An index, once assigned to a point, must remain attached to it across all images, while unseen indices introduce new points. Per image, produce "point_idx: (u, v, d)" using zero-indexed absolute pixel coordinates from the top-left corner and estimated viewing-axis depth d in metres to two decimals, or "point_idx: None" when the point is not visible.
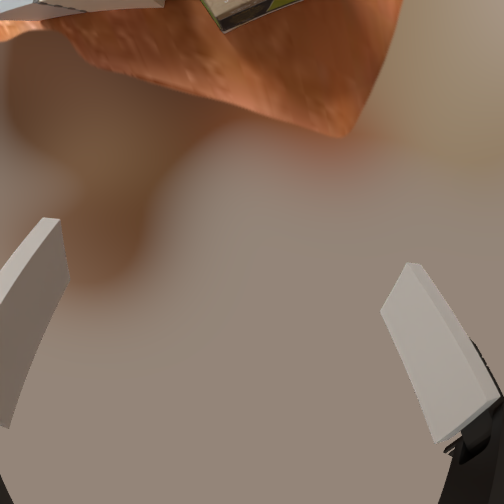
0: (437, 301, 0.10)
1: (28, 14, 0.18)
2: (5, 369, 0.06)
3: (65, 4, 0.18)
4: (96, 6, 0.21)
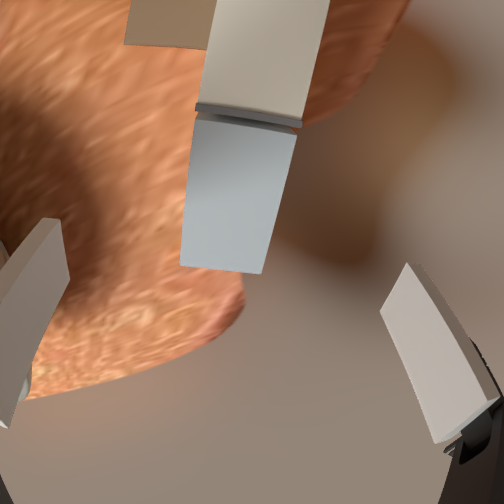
0: (437, 301, 0.10)
1: None
2: (5, 369, 0.06)
3: None
4: None
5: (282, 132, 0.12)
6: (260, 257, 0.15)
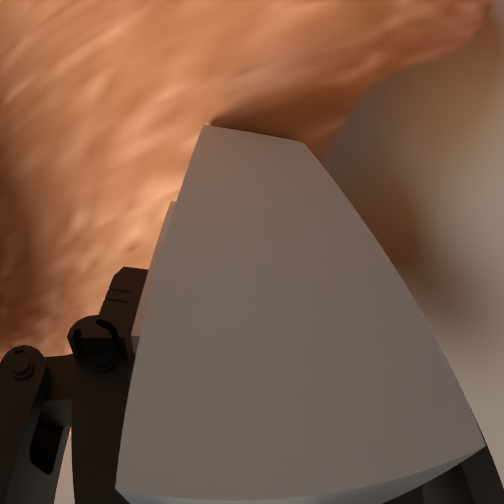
0: None
1: None
2: None
3: None
4: None
5: (454, 452, 0.02)
6: None
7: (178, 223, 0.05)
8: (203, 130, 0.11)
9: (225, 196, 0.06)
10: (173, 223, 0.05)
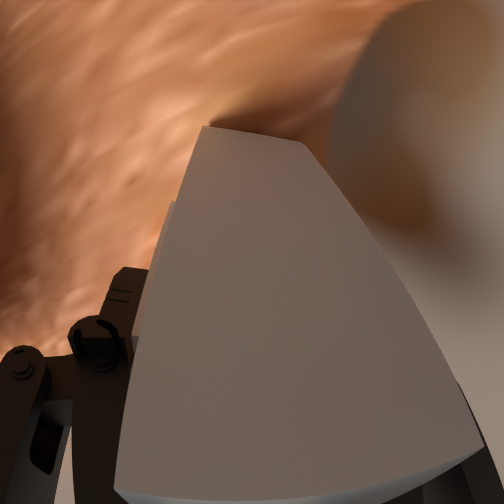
0: None
1: None
2: None
3: None
4: None
5: (452, 452, 0.02)
6: None
7: (177, 224, 0.05)
8: (202, 131, 0.11)
9: (224, 197, 0.06)
10: (172, 224, 0.05)
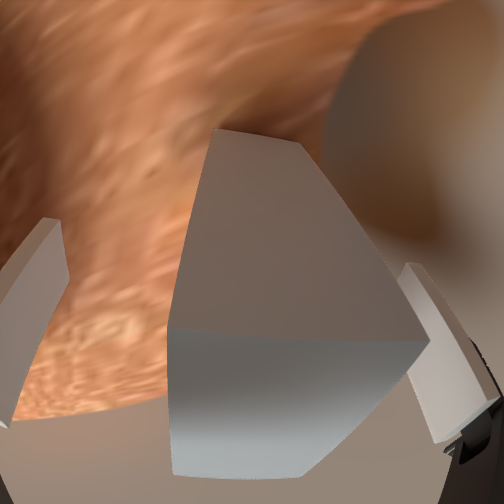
0: (437, 301, 0.10)
1: None
2: (5, 369, 0.06)
3: None
4: None
5: (401, 337, 0.04)
6: (303, 468, 0.08)
7: (202, 193, 0.07)
8: (214, 132, 0.13)
9: (235, 179, 0.08)
10: (198, 193, 0.07)
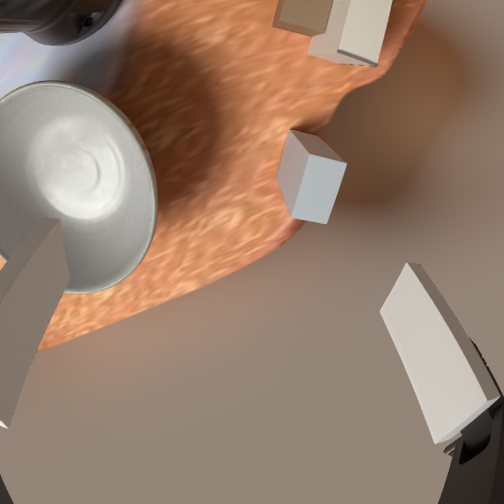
0: (437, 301, 0.10)
1: None
2: (5, 369, 0.06)
3: None
4: None
5: (341, 161, 0.29)
6: (327, 215, 0.33)
7: (302, 143, 0.32)
8: (290, 130, 0.38)
9: (306, 142, 0.33)
10: (301, 143, 0.32)
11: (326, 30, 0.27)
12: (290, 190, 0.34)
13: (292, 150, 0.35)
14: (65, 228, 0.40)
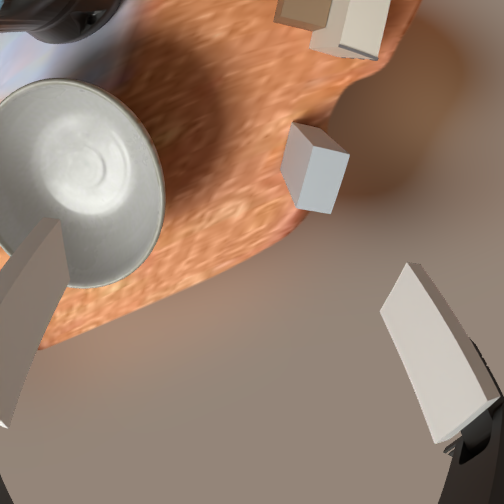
0: (437, 301, 0.10)
1: None
2: (5, 369, 0.06)
3: None
4: None
5: (344, 153, 0.30)
6: (331, 205, 0.33)
7: (305, 135, 0.33)
8: (293, 123, 0.38)
9: (309, 134, 0.34)
10: (305, 135, 0.33)
11: (327, 25, 0.27)
12: (294, 181, 0.35)
13: (295, 142, 0.36)
14: (72, 224, 0.41)
